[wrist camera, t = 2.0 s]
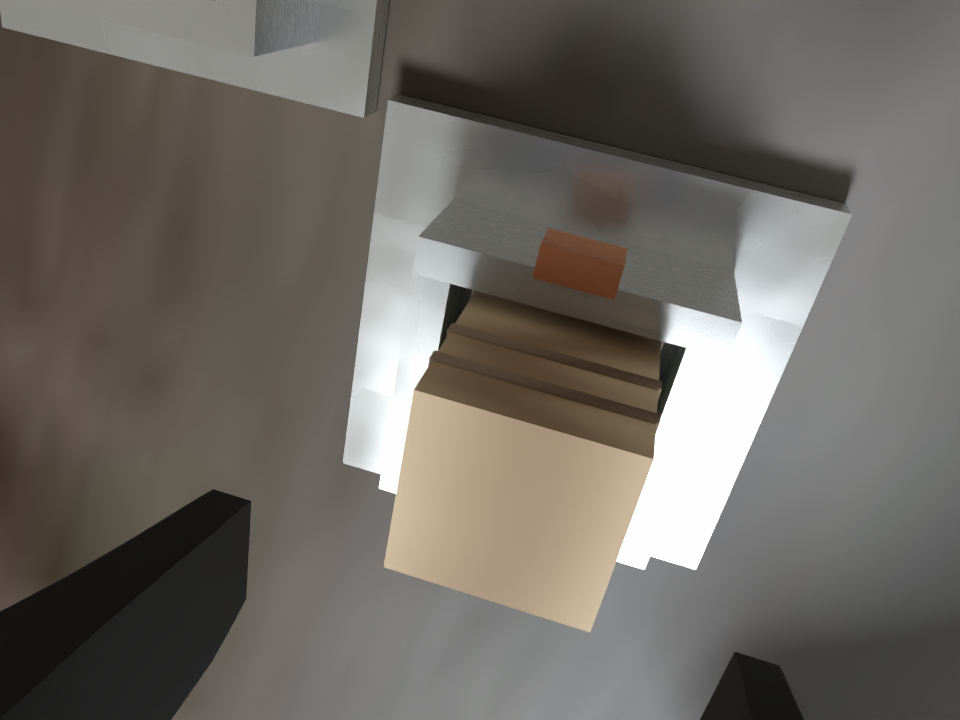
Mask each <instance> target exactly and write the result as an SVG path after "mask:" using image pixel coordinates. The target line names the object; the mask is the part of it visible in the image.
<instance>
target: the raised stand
mask: <svg viewBox="0 0 960 720" xmlns="http://www.w3.org/2000/svg"><path fill="white" fill-rule="evenodd" d="M388 8H389V0H0V12H1V21H2V27H4V28H8V29H12V30H16V31H20V32H24V33H28V34H32V35H36V36H40V37H44V38H48V39H52V40H56V41H60V42H64V43H68V44H72V45H76V46H80V47H83V48H87V49H91V50H95V51H99V52H103V53H107V54H111V55H115V56H119V57H123V58H127V59H131V60H135V61H139V62H143V63H147V64H151V65H155V66H159V67H163V68H167V69H171V70H175V71H179V72H183V73H187V74H191V75H195V76H199V77H203V78H207V79H211V80H215V81H219V82H223V83H227V84H231V85H235V86H239V87H243V88H247V89H251V90H255V91H259V92H263V93H267V94H271V95H275V96H279V97H283V98H287V99H291V100H295V101H299V102H303V103H307V104H311V105H315V106H319V107H323V108H327V109H331V110H335V111H339V112H343V113H347V114H351V115H355V116H359V117H363V118H364V117H366V116H368V115H370V114H372V113H374V112H376V109H377V101H378V93H379V84H380V76H381V67H382V59H383V50H384V42H385V33H386V25H387V16H388Z"/></svg>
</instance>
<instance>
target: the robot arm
mask: <svg viewBox="0 0 960 720" xmlns="http://www.w3.org/2000/svg"><path fill="white" fill-rule="evenodd" d="M250 513H251V501H249V500H246V499H243V498H239V497H236V496H233V495H230V494H227V493H223V492H220V491H217V490H214V489H213V490H211V491H209V492H208V493H206V494H204V495H202V496H201V497H199V498H197V499H196V500H194V501H192V502H191V503H189V504H187V505H186V506H184V507H183V508H181V509H179V510H178V511H176V512H175V513H173V514H171V515H170V516H168V517H166V518H165V519H163V520H162V521H160V522H158V523H157V524H155V525H153V526H152V527H150V528H148V529H147V530H145V531H144V532H142V533H140V534H139V535H137V536H135V537H134V538H132V539H130V540H129V541H127V542H125V543H124V544H122V545H120V546H119V547H117V548H115V549H113V550H112V551H110V552H108V553H107V554H105V555H103V556H101V557H100V558H98V559H96V560H94V561H93V562H91V563H89V564H88V565H86V566H84V567H82V568H81V569H79V570H77V571H75V572H74V573H72V574H70V575H68V576H67V577H65V578H63V579H61V580H59V581H57V582H55V583H53V584H52V585H50V586H48V587H46V588H44V589H42V590H40V591H38V592H36V593H35V594H33V595H31V596H29V597H27V598H25V599H23V600H21V601H19V602H18V603H16V604H14V605H12V606H10V607H8V608H6V609H4V610H2V611H0V720H171V719H172V718H173V716H174V715H175V713H176V712H177V711H178V709H179V708H180V706H181V705H182V703H183V702H184V701H185V699H186V698H187V696H188V695H189V693H190V692H191V691H192V689H193V688H194V686H195V685H196V684H197V682H198V681H199V679H200V678H201V676H202V675H203V673H204V672H205V671H206V669H207V668H208V666H209V665H210V663H211V662H212V660H213V659H214V657H215V655H216V653H217V651H218V650H219V648H220V646H221V644H222V643H223V641H224V639H225V637H226V635H227V634H228V632H229V630H230V628H231V626H232V624H233V622H234V621H235V619H236V617H237V615H238V613H239V611H240V609H241V607H242V606H243V604H244V602H245V600H246V590H247V571H248V552H249V533H250ZM700 720H804V718H803V716H802V713H801V711H800V709H799V707H798V705H797V702H796V700H795V698H794V696H793V693H792V691H791V689H790V687H789V685H788V682H787V680H786V678H785V676H784V674H783V672H782V670H781V668H780V666H778V665H775V664H772V663H769V662H766V661H762V660H759V659H756V658H753V657H749V656H746V655H743V654H740V653H737V652H734V654H733V656H732V658H731V660H730V662H729V664H728V666H727V668H726V670H725V672H724V674H723V676H722V678H721V680H720V682H719V684H718V686H717V688H716V690H715V692H714V693H713V695H712V697H711V699H710V701H709V703H708V705H707V707H706V709H705V711H704V713H703V715H702V717H701V719H700Z"/></svg>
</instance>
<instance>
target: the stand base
mask: <svg viewBox="0 0 960 720" xmlns="http://www.w3.org/2000/svg"><path fill="white" fill-rule="evenodd" d="M851 217H852V213H851V212H850V210H849V208H848V207H847V205H846V204H845V203H840V202H836V201H832V200H828V199H824V198H820V197H816V196H812V195H808V194H804V193H800V192H796V191H792V190H787V189H783V188H779V187H775V186H771V185H767V184H763V183H759V182H755V181H751V180H747V179H743V178H739V177H734V176H730V175H726V174H722V173H718V172H714V171H710V170H706V169H702V168H698V167H694V166H690V165H686V164H682V163H677V162H673V161H669V160H665V159H661V158H657V157H653V156H649V155H645V154H641V153H637V152H633V151H629V150H624V149H620V148H616V147H612V146H608V145H604V144H600V143H596V142H592V141H588V140H584V139H580V138H576V137H571V136H567V135H563V134H559V133H555V132H551V131H547V130H543V129H539V128H535V127H531V126H527V125H523V124H519V123H514V122H510V121H506V120H502V119H498V118H494V117H490V116H486V115H482V114H478V113H474V112H470V111H466V110H461V109H457V108H453V107H449V106H445V105H441V104H437V103H433V102H429V101H425V100H421V99H417V98H413V97H409V96H404V95H400V94H399V95H397V96H395V97H393V98H391V99H389V100H388V105H387V113H386V121H385V129H384V137H383V145H382V153H381V161H380V169H379V177H378V185H377V193H376V201H375V209H374V217H373V225H372V233H371V241H370V250H369V258H368V266H367V274H366V282H365V290H364V298H363V306H362V314H361V322H360V330H359V338H358V346H357V354H356V362H355V370H354V378H353V386H352V394H351V402H350V410H349V418H348V426H347V434H346V442H345V450H344V458H343V463H345V464H348V465H352V466H355V467H358V468H361V469H365V470H368V471H371V472H375V473H378V474H381V477H380V483H379V489H382V490H385V491H388V492H392V493H395V494H396V492H397V486H398V480H399V474H400V468H401V462H402V456H403V451H404V445H405V439H406V433H407V427H408V421H409V416H410V410H411V404H412V398H413V392H414V389H415V387H416V386H417V384H418V382H419V381H420V379H421V378H422V376H423V374H424V373H425V371H426V370H427V368H428V364H429V358H430V356H431V355H432V353H433V352H434V350H435V351H438V350H439V349H440V347H441V346H442V344H443V342H444V341H445V339H446V335H447V330H448V328H449V326H450V325H451V323H454V324H455V323H456V321H457V320H458V318H459V317H460V315H461V313H462V312H463V310H464V309H465V307H466V305H467V304H468V302H469V301H470V299H471V295H472V290H475V291H479V292H482V293H486V294H490V295H494V296H497V297H501V298H505V299H508V300H512V301H516V302H519V303H523V304H527V305H530V306H534V307H538V308H541V309H545V310H549V311H552V312H556V313H560V314H563V315H567V316H571V317H575V318H578V319H582V320H586V321H589V322H593V323H597V324H600V325H604V326H608V327H611V328H615V329H619V330H622V331H626V332H630V333H633V334H637V335H641V336H644V337H648V338H652V339H656V340H659V341H663V342H665V345H664V348H663V351H662V354H661V357H660V371H659V381H662V390H661V393H660V396H659V398H658V404H657V413H658V414H660V425H659V427H658V430H657V433H656V437H655V454H654V461H653V464H652V466H651V469H650V472H649V475H648V477H647V480H646V483H645V485H644V488H643V491H642V494H641V496H640V499H639V502H638V504H637V507H636V510H635V512H634V515H633V518H632V521H631V523H630V526H629V529H628V531H627V534H626V537H625V540H624V542H623V545H622V548H621V550H620V553H619V556H618V558H617V561H618V562H621V563H624V564H628V565H631V566H634V567H637V568H641V569H645V566H646V564H647V561H648V559H649V556H652V557H655V558H658V559H662V560H665V561H668V562H672V563H675V564H678V565H682V566H685V567H688V568H691V569H695V570H696V568H697V566H698V564H699V561H700V559H701V557H702V555H703V552H704V550H705V548H706V546H707V543H708V541H709V539H710V536H711V534H712V532H713V530H714V527H715V525H716V523H717V521H718V518H719V516H720V514H721V511H722V509H723V507H724V505H725V502H726V500H727V498H728V496H729V493H730V491H731V489H732V487H733V484H734V482H735V480H736V477H737V475H738V473H739V471H740V468H741V466H742V464H743V462H744V459H745V457H746V455H747V453H748V450H749V448H750V446H751V443H752V441H753V439H754V437H755V434H756V432H757V430H758V428H759V425H760V423H761V421H762V418H763V416H764V414H765V412H766V409H767V407H768V405H769V403H770V400H771V398H772V396H773V394H774V391H775V389H776V387H777V384H778V382H779V380H780V378H781V375H782V373H783V371H784V369H785V366H786V364H787V362H788V360H789V357H790V355H791V353H792V350H793V348H794V346H795V344H796V341H797V339H798V337H799V335H800V332H801V330H802V328H803V325H804V323H805V321H806V319H807V316H808V314H809V312H810V310H811V307H812V305H813V303H814V301H815V298H816V296H817V294H818V291H819V289H820V287H821V285H822V282H823V280H824V278H825V276H826V273H827V271H828V269H829V267H830V264H831V262H832V260H833V257H834V255H835V253H836V251H837V248H838V246H839V244H840V242H841V239H842V237H843V235H844V232H845V230H846V228H847V226H848V223H849V221H850V219H851Z"/></svg>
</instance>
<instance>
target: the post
mask: <svg viewBox="0 0 960 720" xmlns="http://www.w3.org/2000/svg"><path fill="white" fill-rule="evenodd" d="M663 344H664V342H663V341H659V340H656V339H652V338H648V337H644V336H641V335H637V334H633V333H630V332H626V331H622V330H619V329H615V328H611V327H608V326H604V325H600V324H597V323H593V322H589V321H586V320H582V319H578V318H575V317H571V316H567V315H563V314H560V313H556V312H552V311H549V310H545V309H541V308H538V307H534V306H530V305H527V304H523V303H519V302H516V301H512V300H508V299H505V298H501V297H497V296H494V295H490V294H486V293H482V292H479V291H475V290H472V295H471V299H470V301H469V302H468V304H467V305H466V307H465V309H464V310H463V312H462V313H461V315H460V317H459V318H458V320H457V321H456V323H455V324H454V323H451V325H450V326H449V328H448V330H447V335H446V339H445V341H444V342H443V344H442V346H441V347H440V349H439V350H438V351H435V350H434V352H433V353H432V355H431V356H430V358H429V364H428V368H427V370H426V371H425V373H424V374H423V376H422V378H421V379H420V381H419V382H418V384H417V386H416V387H415V389H414V392H413V398H412V404H411V410H410V416H409V421H408V427H407V433H406V439H405V445H404V451H403V456H402V462H401V468H400V474H399V480H398V486H397V492H396V497H395V503H394V509H393V515H392V521H391V527H390V533H389V538H388V544H387V550H386V556H385V562H384V567H385V568H388V569H391V570H394V571H398V572H401V573H404V574H407V575H410V576H413V577H417V578H420V579H423V580H426V581H429V582H432V583H435V584H439V585H442V586H445V587H448V588H451V589H454V590H458V591H461V592H464V593H467V594H470V595H473V596H477V597H480V598H483V599H486V600H489V601H492V602H495V603H499V604H502V605H505V606H508V607H511V608H514V609H518V610H521V611H524V612H527V613H530V614H533V615H536V616H540V617H543V618H546V619H549V620H552V621H555V622H559V623H562V624H565V625H568V626H571V627H574V628H578V629H581V630H584V631H587V632H591V629H592V626H593V623H594V621H595V618H596V615H597V613H598V610H599V607H600V604H601V602H602V599H603V596H604V594H605V591H606V588H607V586H608V583H609V580H610V577H611V575H612V572H613V569H614V567H615V564H616V561H617V558H618V556H619V553H620V550H621V548H622V545H623V542H624V540H625V537H626V534H627V531H628V529H629V526H630V523H631V521H632V518H633V515H634V512H635V510H636V507H637V504H638V502H639V499H640V496H641V494H642V491H643V488H644V485H645V483H646V480H647V477H648V475H649V472H650V469H651V466H652V464H653V461H654V454H655V437H656V433H657V430H658V427H659V425H660V414H658V413H657V404H658V398H659V396H660V393H661V390H662V381H659V371H660V354H661V350H662V347H663Z"/></svg>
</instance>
